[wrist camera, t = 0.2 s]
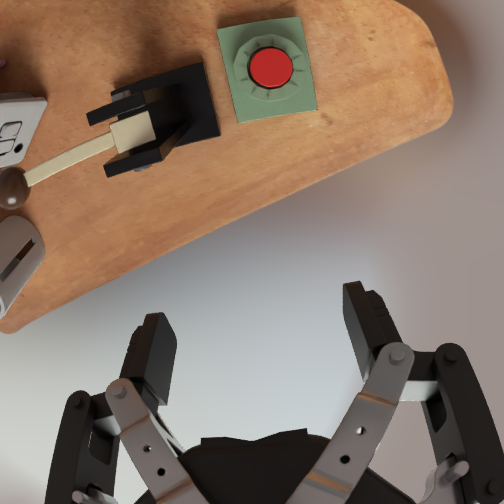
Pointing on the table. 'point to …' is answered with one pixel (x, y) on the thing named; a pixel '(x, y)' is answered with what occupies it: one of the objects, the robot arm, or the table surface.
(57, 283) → the table surface
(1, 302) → the cup
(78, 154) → the lever
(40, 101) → the electrical switch
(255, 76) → the button
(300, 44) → the button block
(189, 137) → the bracket
